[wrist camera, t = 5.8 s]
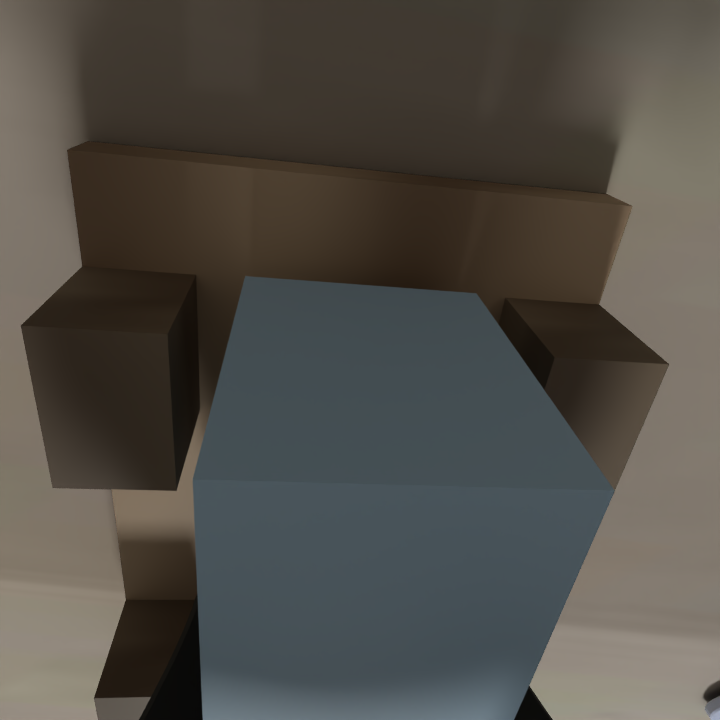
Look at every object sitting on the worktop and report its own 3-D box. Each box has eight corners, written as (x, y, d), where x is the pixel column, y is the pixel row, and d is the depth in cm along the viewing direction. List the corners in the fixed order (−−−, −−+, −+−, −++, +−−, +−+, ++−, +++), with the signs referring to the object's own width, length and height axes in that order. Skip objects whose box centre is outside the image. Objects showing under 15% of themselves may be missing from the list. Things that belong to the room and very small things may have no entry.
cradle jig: (607, 193, 11) (720, 247, 8) (455, 672, 19) (484, 792, 16) (88, 141, 10) (-8, 180, 7) (148, 678, 18) (116, 810, 14)
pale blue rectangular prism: (476, 293, 10) (615, 491, 5) (375, 730, 16) (401, 975, 12) (245, 275, 9) (192, 479, 5) (238, 735, 16) (214, 992, 12)
